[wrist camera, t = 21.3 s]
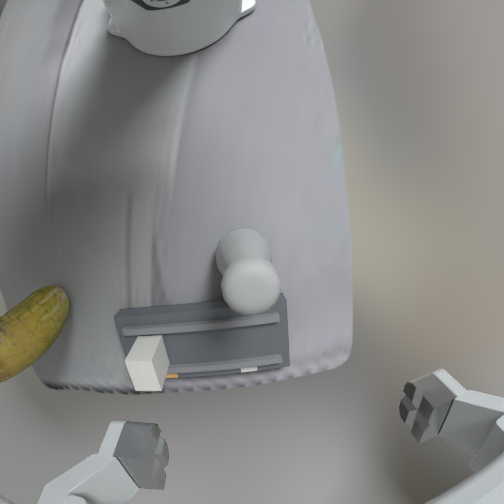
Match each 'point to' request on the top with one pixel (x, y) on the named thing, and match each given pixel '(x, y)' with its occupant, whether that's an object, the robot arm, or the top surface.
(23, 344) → the vegetable
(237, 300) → the salt shaker
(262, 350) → the switch plate
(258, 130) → the top surface
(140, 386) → the slider knob
